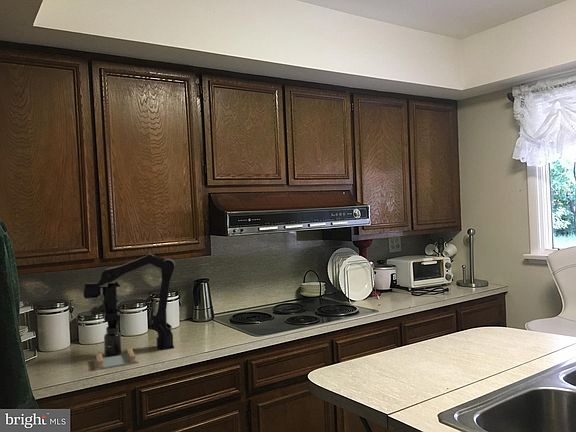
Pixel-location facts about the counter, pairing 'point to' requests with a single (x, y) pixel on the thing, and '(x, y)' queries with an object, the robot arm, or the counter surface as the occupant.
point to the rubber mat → (115, 361)
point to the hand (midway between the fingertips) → (111, 332)
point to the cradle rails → (128, 350)
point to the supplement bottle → (112, 341)
